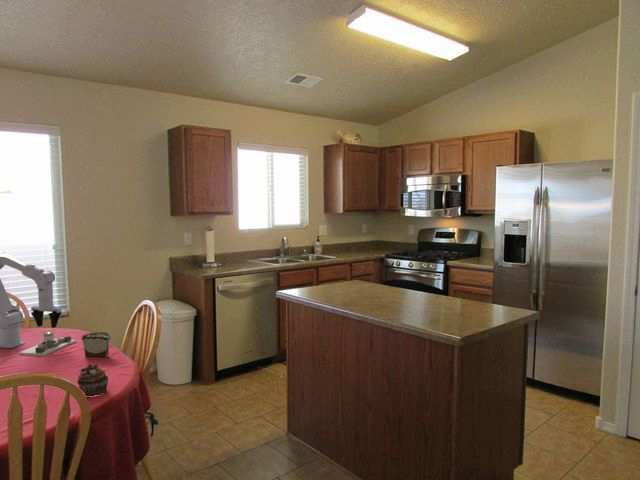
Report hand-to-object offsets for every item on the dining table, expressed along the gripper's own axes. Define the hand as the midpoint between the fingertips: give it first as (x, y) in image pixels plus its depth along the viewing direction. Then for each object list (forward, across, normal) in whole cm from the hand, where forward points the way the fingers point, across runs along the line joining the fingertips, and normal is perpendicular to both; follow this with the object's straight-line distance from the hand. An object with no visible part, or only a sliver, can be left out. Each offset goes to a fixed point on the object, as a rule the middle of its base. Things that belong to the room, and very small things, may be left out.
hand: (47, 326), depth 207 cm
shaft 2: (+9, -4, -5) cm, 11 cm away
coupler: (+8, -2, +2) cm, 9 cm away
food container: (+9, -32, +6) cm, 34 cm away
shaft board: (+9, -2, +2) cm, 10 cm away
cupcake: (+9, -56, +40) cm, 69 cm away
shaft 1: (+9, -5, +8) cm, 13 cm away
